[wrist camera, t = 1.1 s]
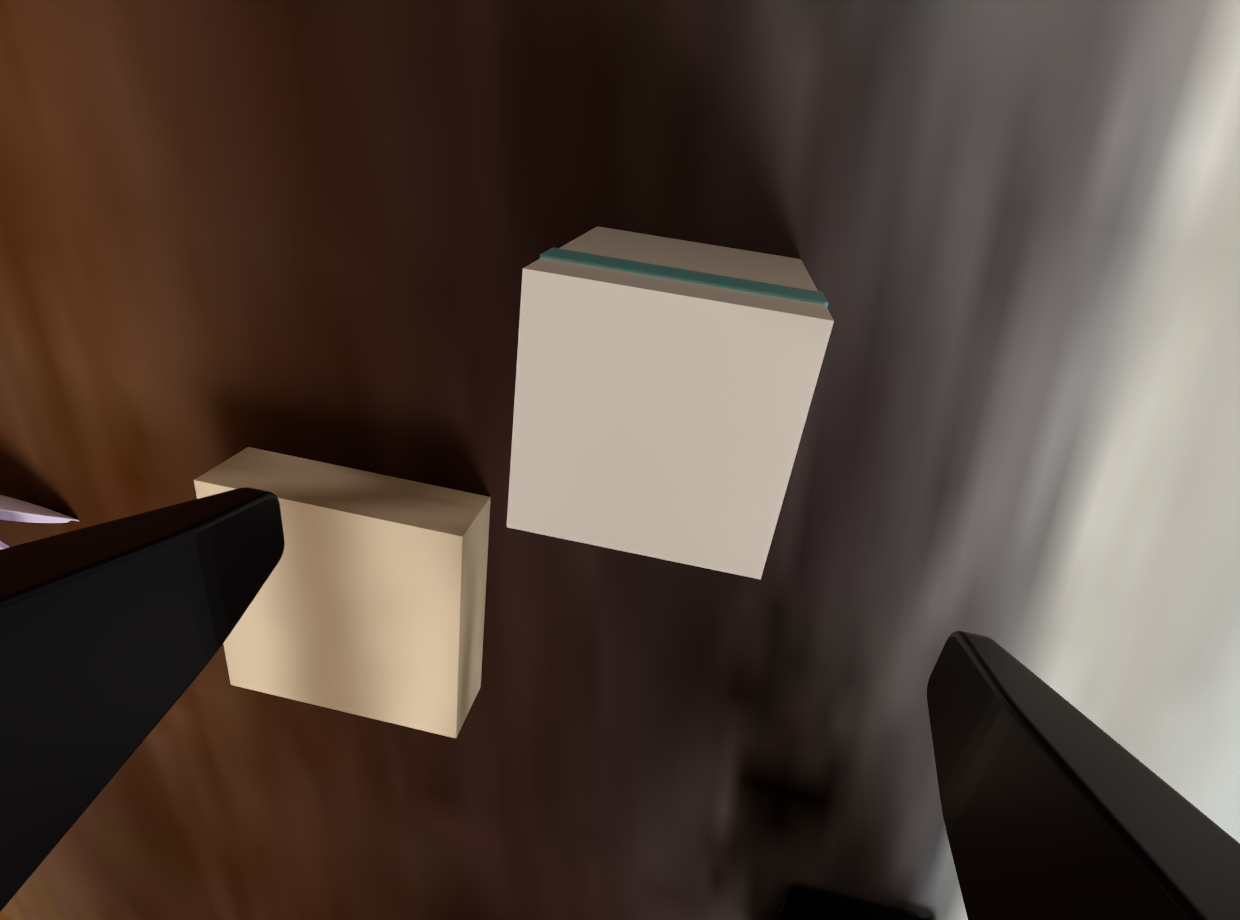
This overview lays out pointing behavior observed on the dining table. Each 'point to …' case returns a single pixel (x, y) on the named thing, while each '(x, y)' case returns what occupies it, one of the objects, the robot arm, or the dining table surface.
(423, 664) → the block
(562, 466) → the teal-striped cream cube
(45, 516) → the water lily
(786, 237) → the dining table surface
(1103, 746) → the robot arm
